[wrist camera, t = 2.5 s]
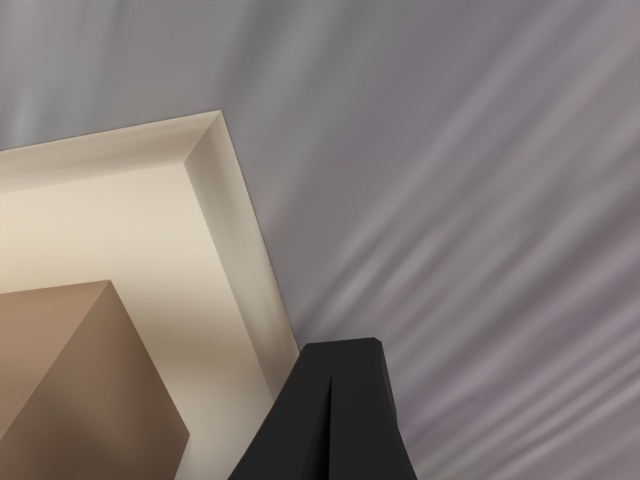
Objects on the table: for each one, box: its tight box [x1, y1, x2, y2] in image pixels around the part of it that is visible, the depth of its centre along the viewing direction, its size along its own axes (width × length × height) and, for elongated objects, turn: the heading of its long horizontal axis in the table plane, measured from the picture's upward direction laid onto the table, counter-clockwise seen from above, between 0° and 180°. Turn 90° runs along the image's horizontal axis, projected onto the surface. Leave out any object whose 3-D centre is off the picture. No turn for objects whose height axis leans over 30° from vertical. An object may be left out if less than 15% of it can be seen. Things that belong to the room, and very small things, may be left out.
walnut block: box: [0, 280, 190, 480], centre depth 10 cm, size 4×4×4 cm
